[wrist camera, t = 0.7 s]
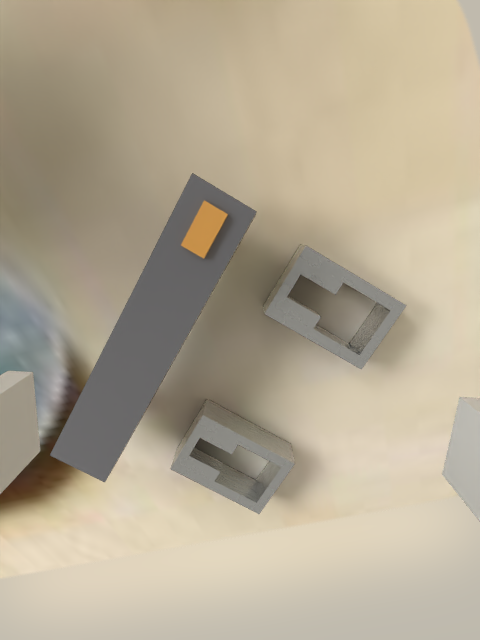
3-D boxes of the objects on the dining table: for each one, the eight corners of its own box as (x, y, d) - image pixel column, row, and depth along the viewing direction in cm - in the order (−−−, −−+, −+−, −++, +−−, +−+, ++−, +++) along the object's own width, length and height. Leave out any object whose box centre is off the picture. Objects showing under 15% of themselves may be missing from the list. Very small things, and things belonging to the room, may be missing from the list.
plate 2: (263, 306, 31) (264, 314, 28) (300, 244, 29) (305, 245, 26) (351, 356, 32) (361, 369, 29) (391, 298, 30) (406, 305, 27)
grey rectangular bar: (94, 406, 33) (46, 458, 26) (207, 188, 29) (191, 171, 21) (136, 427, 34) (102, 486, 26) (255, 217, 29) (256, 211, 21)
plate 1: (177, 448, 34) (170, 468, 31) (207, 398, 33) (202, 415, 30) (258, 490, 35) (259, 514, 32) (290, 443, 34) (294, 463, 31)
